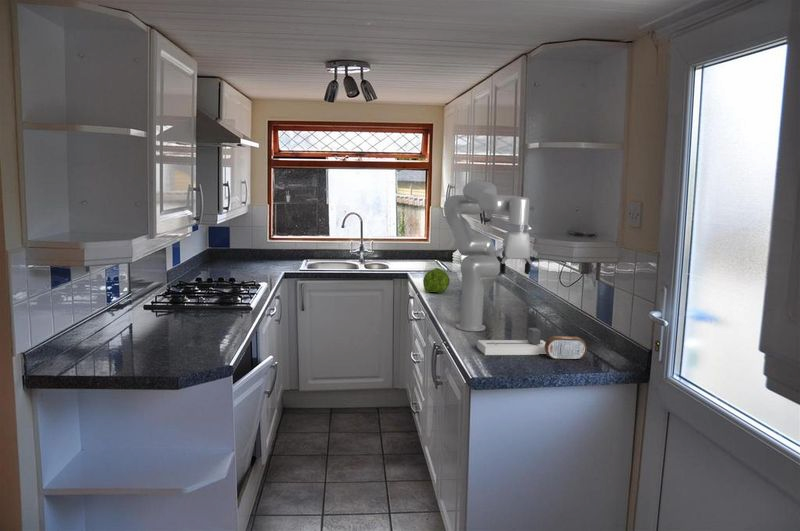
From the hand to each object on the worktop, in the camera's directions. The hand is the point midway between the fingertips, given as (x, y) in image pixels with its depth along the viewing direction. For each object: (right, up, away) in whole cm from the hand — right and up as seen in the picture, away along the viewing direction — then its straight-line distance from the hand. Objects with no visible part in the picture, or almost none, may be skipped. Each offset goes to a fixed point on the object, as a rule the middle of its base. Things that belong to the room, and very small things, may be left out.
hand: (514, 273), depth 250 cm
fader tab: (+6, -26, -4) cm, 27 cm away
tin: (+16, -31, -13) cm, 38 cm away
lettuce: (-23, -12, +122) cm, 125 cm away
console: (-1, -29, -5) cm, 30 cm away
